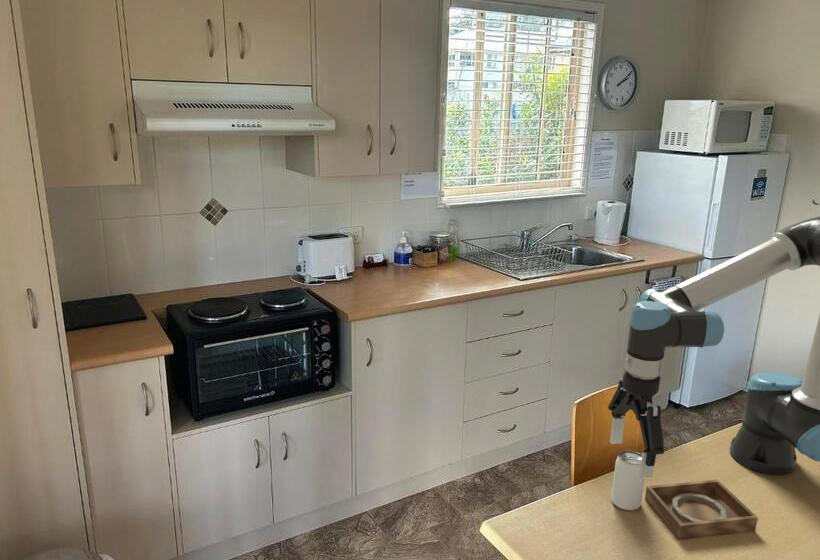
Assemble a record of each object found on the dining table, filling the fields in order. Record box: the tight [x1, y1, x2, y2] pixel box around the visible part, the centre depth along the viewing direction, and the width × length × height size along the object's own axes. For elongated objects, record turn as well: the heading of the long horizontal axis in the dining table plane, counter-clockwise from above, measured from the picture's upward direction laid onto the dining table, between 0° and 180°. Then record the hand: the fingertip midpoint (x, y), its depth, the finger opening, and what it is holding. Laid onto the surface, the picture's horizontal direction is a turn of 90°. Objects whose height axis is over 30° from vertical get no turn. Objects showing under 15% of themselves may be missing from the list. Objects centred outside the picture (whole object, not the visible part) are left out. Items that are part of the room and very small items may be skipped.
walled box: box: [644, 479, 759, 541], centre depth 142 cm, size 18×14×4 cm
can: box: [610, 449, 645, 512], centre depth 145 cm, size 6×6×12 cm
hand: (629, 459), depth 143 cm, fingers open, 13 cm apart
